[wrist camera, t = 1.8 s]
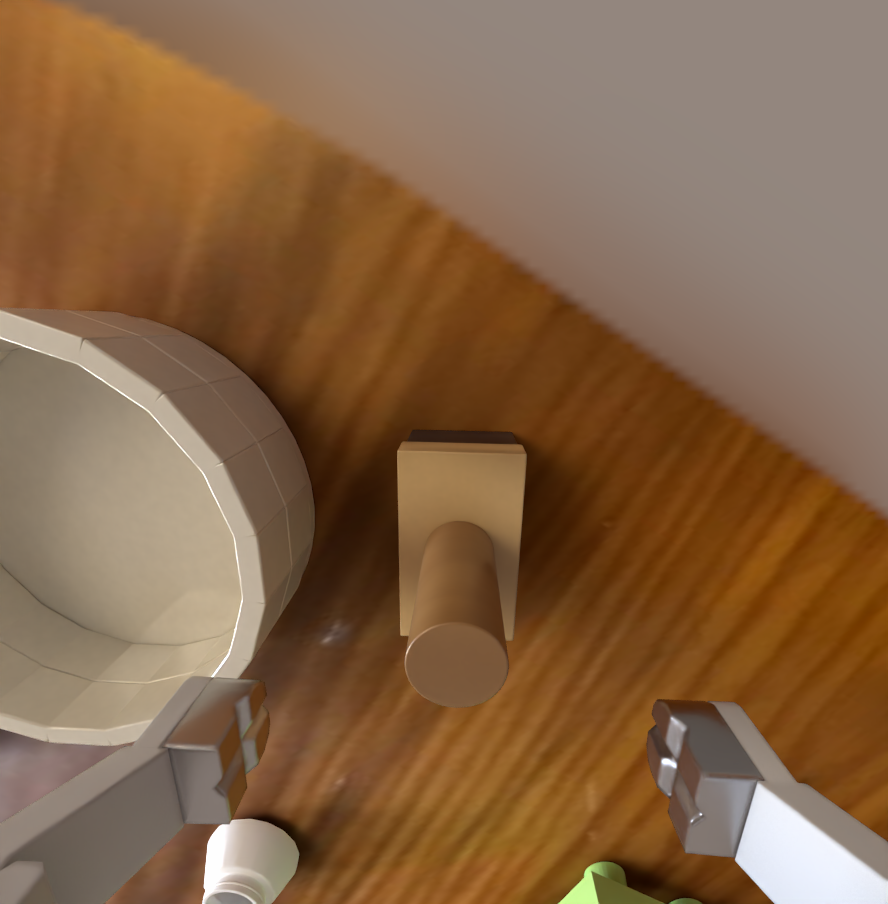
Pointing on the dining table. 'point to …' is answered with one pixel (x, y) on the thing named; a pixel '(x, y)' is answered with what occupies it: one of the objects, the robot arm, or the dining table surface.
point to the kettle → (610, 888)
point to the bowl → (134, 521)
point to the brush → (459, 560)
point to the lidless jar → (248, 863)
